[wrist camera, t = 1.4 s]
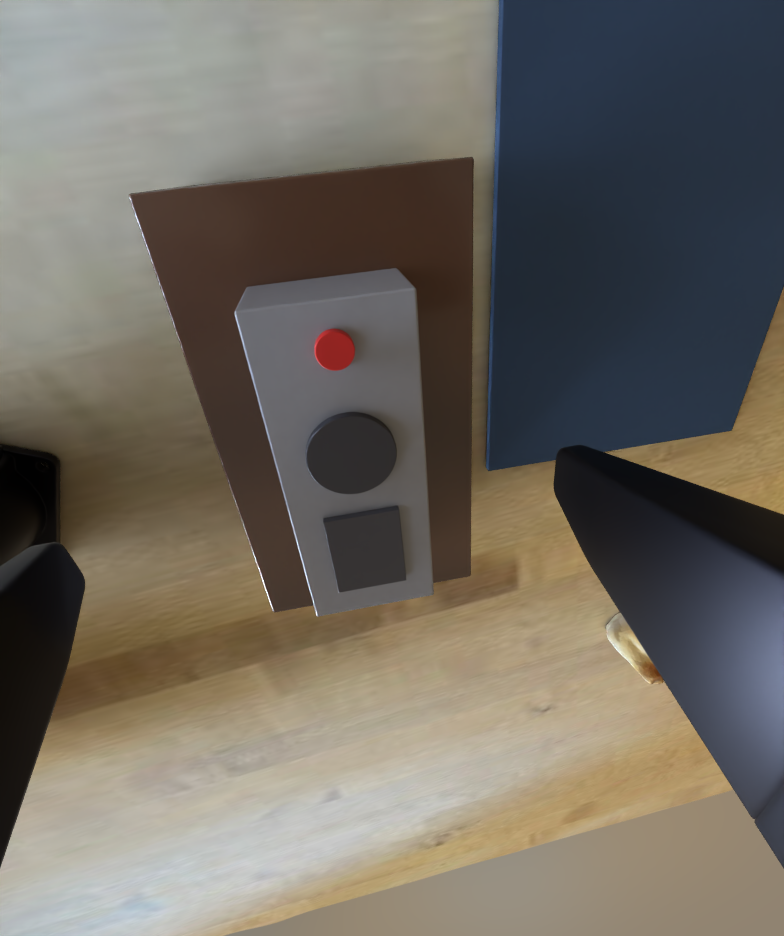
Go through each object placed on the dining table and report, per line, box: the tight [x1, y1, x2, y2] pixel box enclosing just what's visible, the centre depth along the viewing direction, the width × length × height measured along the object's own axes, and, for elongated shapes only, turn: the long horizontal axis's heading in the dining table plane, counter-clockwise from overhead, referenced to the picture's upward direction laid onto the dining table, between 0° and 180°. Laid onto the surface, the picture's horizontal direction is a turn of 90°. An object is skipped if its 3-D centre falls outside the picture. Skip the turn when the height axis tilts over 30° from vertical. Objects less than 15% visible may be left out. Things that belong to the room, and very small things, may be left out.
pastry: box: [606, 612, 663, 684], centre depth 33 cm, size 9×7×4 cm
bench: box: [129, 157, 474, 612], centre depth 19 cm, size 16×9×6 cm, turn 5°
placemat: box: [486, 0, 784, 471], centre depth 20 cm, size 20×14×1 cm
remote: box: [234, 268, 434, 616], centre depth 15 cm, size 11×4×3 cm, turn 5°
